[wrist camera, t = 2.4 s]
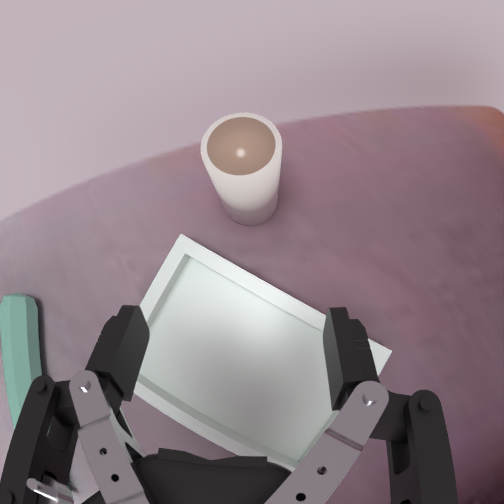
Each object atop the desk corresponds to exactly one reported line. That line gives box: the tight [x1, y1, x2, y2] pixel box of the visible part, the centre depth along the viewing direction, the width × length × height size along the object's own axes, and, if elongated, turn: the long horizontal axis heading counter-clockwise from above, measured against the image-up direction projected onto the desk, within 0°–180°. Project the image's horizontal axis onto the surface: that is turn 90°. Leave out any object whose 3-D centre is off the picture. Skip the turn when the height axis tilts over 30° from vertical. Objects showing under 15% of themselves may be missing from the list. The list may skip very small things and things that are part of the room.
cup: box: [201, 113, 282, 226], centre depth 23 cm, size 5×5×10 cm
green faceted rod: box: [0, 293, 73, 498], centre depth 23 cm, size 6×6×25 cm
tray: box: [133, 234, 392, 472], centre depth 24 cm, size 20×14×2 cm
